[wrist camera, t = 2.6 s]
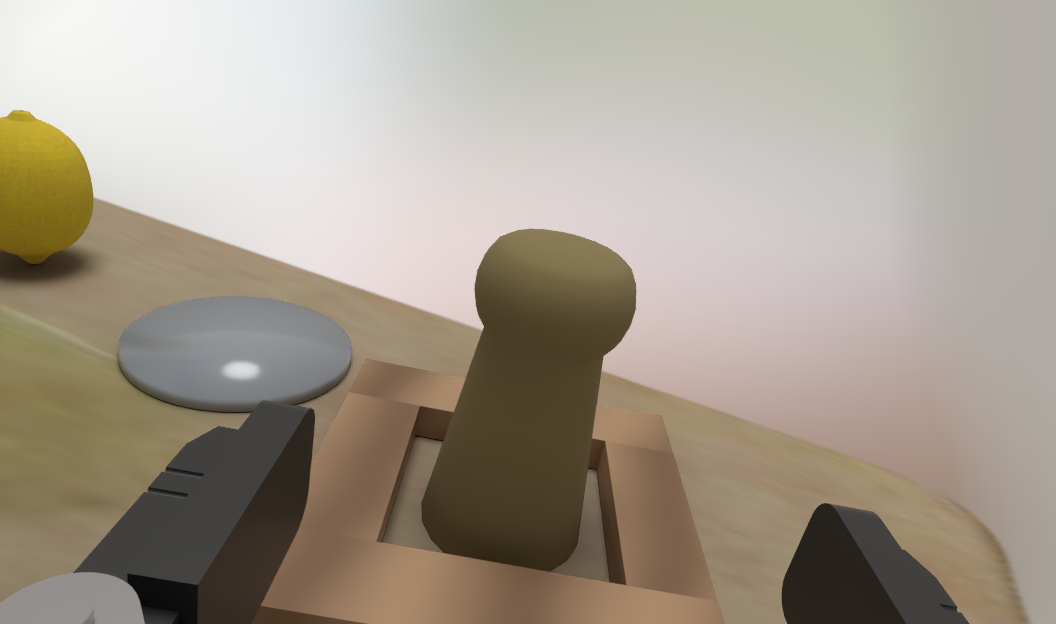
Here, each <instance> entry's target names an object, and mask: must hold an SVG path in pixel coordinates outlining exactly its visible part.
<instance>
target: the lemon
mask: <svg viewBox="0 0 1056 624" xmlns="http://www.w3.org/2000/svg"><path fill="white" fill-rule="evenodd" d="M92 210H93V190H92V183H91V178H90V174H89V170H88V168H87V164H86V162H85V159H84V157H83V155H82V153H81V152H80V150H79V148H78V147H77V146H76V144H75V143H74V142H73V141H72V140H71V139H70V138H69V137H68V136H66V135H65V134H64V133H63V132H61V131H60V130H59V129H57V128H55V127H54V126H52V125H50V124H47V123H45V122H43V121H41V120H38V119H36V118H35V117H34V116H33V115H31V113H30V112H27V111H20V110H14V111H12V112H11V113H10V114H9V115H8V116H7V117H2V118H0V250H2V251H5V252H8V253H12V254H16V255H18V256H19V257H21V258H22V259H23V260H25V261H26V262H28V263H30V264H39V263H42V262H43V261H44V260H45V259H46V258H47V257H48V256H49V255H51V254H53V253H57V252H60V251H62V250H64V249H66V248H67V247H69V246H71V245H72V244H73V243H75V242H76V241H77V240H78V239H79V238H80V237H81V235H82V234H83V233H84V231H85V230H86V228H87V226H88V224H89V222H90V219H91V215H92Z"/></svg>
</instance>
